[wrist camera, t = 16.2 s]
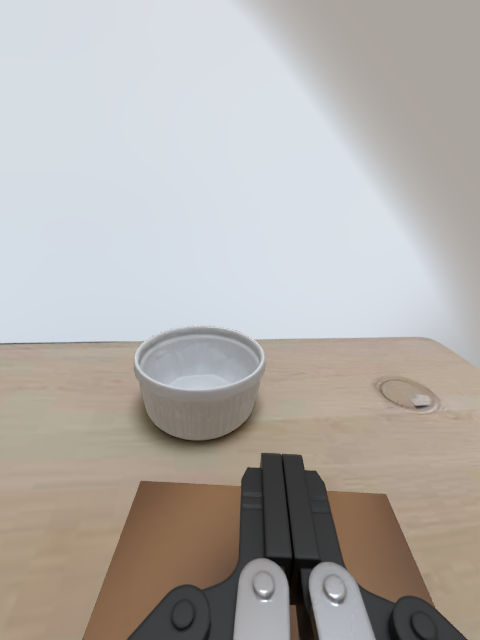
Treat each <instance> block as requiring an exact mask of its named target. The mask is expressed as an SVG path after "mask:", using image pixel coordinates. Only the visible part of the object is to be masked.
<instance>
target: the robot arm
mask: <svg viewBox="0 0 480 640" xmlns="http://www.w3.org/2000/svg"><path fill="white" fill-rule="evenodd" d="M289 605H296V614H297V623H298V640H467V639H466V638H465V637H464V636H463V635H462V634H461V633H460V632H459V631H458V630H457V629H456V628H455V627H454V626H453V625H452V624H451V623H450V622H449V621H448V620H447V619H446V618H445V617H444V616H443V615H442V614H441V613H440V612H438V611H437V610H436V609H435V608H434V607H433V606H432V605H431V604H429V603H428V602H427V601H425V600H423V599H421V598H419V597H416V596H411V595H407V596H403V597H401V598H399V599H398V600H397V601H396V603H394V602H392V601H389V600H387V599H385V598H383V597H380V596H378V595H376V594H373V593H371V592H369V591H367V590H366V589H364V588H363V587H361V586H360V585H359V584H358V583H357V582H356V581H355V579H354V578H353V576H352V575H351V574H350V573H349V572H348V570H347V568H346V566H345V564H344V561H343V557H342V553H341V549H340V545H339V541H338V537H337V532H336V528H335V524H334V520H333V516H332V513H331V508H330V504H329V501H328V495H327V491H326V487H325V483H324V482H323V481H322V479H321V478H320V476H319V475H318V473H317V472H316V471H307V470H304V464H303V459H302V456H301V455H295V454H282V455H281V454H276V453H261V463H260V468H249V467H248V468H247V470H246V472H245V474H244V476H243V478H242V481H241V502H240V530H239V559H238V563H237V565H236V567H235V569H234V571H233V572H232V574H231V575H230V576H229V577H228V578H227V579H226V580H224V581H223V582H221V583H219V584H216V585H213V586H211V587H208V588H205V589H202V590H201V589H200V588H198V587H197V586H194V585H190V584H184V585H180V586H177V587H175V588H174V589H172V590H171V591H170V592H169V593H167V594H166V596H165V597H164V598H163V599H162V600H161V601H160V602H159V603H158V605H157V606H156V607H155V608H154V609H153V610H152V611H151V613H150V614H149V615H148V616H147V617H146V618H145V619H144V620H143V622H142V623H141V624H140V625H139V626H138V627H137V628H136V629H135V631H134V632H133V633H132V634H131V635H130V636H129V637H128V639H127V640H290V609H289Z"/></svg>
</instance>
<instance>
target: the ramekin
mask: <svg viewBox="0 0 480 640" xmlns="http://www.w3.org/2000/svg"><path fill="white" fill-rule="evenodd" d="M264 370H265V353H264V351H263V349H262V347H261V346H260V345H259V343H257V342H256V341H255V340H254V339H252V338H251V337H249V336H247V335H245V334H243V333H241V332H238V331H235V330H231V329H227V328H222V327H215V326H187V327H180V328H175V329H171V330H167V331H164V332H161V333H159V334H157V335H154V336H152V337H151V338H149V339H147V340H146V341H145V342H143V343H142V344H141V345H140V346H139V348H138V349H137V351H136V353H135V356H134V371H135V376H136V378H137V380H138V381H139V384H140V389H141V393H142V397H143V401H144V404H145V408H146V411H147V413H148V415H149V417H150V419H151V420H152V421H153V422H154V424H155V425H156V426H157V427H159V428H160V429H161V430H163V431H165V432H166V433H168V434H170V435H172V436H174V437H177V438H181V439H186V440H209V439H214V438H218V437H221V436H224V435H226V434H228V433H230V432H232V431H233V430H235V429H236V428H237V427H239V426H241V425H242V423H244V422H245V421H246V420H247V418H248V417H249V416H250V414H251V412H252V410H253V407H254V404H255V400H256V396H257V392H258V388H259V383H260V379H261V378H262V376H263V373H264Z"/></svg>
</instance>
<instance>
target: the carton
mask: <svg viewBox="0 0 480 640" xmlns="http://www.w3.org/2000/svg"><path fill="white" fill-rule="evenodd" d="M327 495H328V501H329V504H330V508H331V513H332V516H333V520H334V524H335V528H336V532H337V537H338V541H339V545H340V549H341V553H342V557H343V561H344V564H345V566H346V568H347V570H348V572H349V573H350V574H351V575H352V576H353V578H354V579H355V581H356V582H357V583H358V584H359V585H360V586H361V587H363V588H364V589H366V590H367V591H369V592H371V593H373V594H376V595H378V596H380V597H383V598H385V599H387V600H389V601H392V602H394V603H396V601H397V600H398V599H399V598H401V597H403V596H407V595H411V596H416V597H419V598H421V599H423V600H425V601H427V602H428V603H429V604H431V605H432V606H433V607H434V608H435V606H434V604H433V602H432V599H431V597H430V595H429V592H428V590H427V588H426V585H425V583H424V581H423V579H422V576H421V574H420V572H419V569H418V567H417V565H416V562H415V560H414V558H413V555H412V553H411V551H410V549H409V546H408V544H407V542H406V539H405V537H404V535H403V532H402V530H401V528H400V525H399V523H398V521H397V519H396V516H395V514H394V512H393V509H392V507H391V505H390V502H389V500H388V498H387V495H386V494H374V493H355V492H337V491H327ZM240 502H241V486H226V485H208V484H189V483H171V482H152V481H141V482H140V485H139V487H138V490H137V493H136V496H135V498H134V501H133V504H132V506H131V509H130V512H129V515H128V517H127V520H126V523H125V525H124V528H123V531H122V534H121V536H120V539H119V542H118V545H117V547H116V550H115V553H114V555H113V558H112V561H111V564H110V566H109V569H108V572H107V574H106V577H105V580H104V583H103V585H102V588H101V591H100V593H99V596H98V599H97V602H96V604H95V607H94V610H93V612H92V615H91V618H90V621H89V623H88V626H87V629H86V631H85V634H84V637H83V640H127V639H128V637H129V636H130V635H131V634H132V633H133V632H134V631H135V629H136V628H137V627H138V626H139V625H140V624H141V623H142V622H143V620H144V619H145V618H146V617H147V616H148V615H149V614H150V613H151V611H152V610H153V609H154V608H155V607H156V606H157V605H158V603H159V602H160V601H161V600H162V599H163V598H164V597H165V596H166V594H167V593H169V592H170V591H171V590H172V589H174V588H175V587H177V586H180V585H184V584H190V585H194V586H197V587H198V588H200V589H201V590H202V589H205V588H208V587H211V586H213V585H216V584H219V583H221V582H223V581H224V580H226V579H227V578H228V577H229V576H230V575H231V574H232V572H233V571H234V569H235V567H236V565H237V563H238V559H239V530H240ZM289 609H290V640H298V623H297V614H296V605H289Z"/></svg>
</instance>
